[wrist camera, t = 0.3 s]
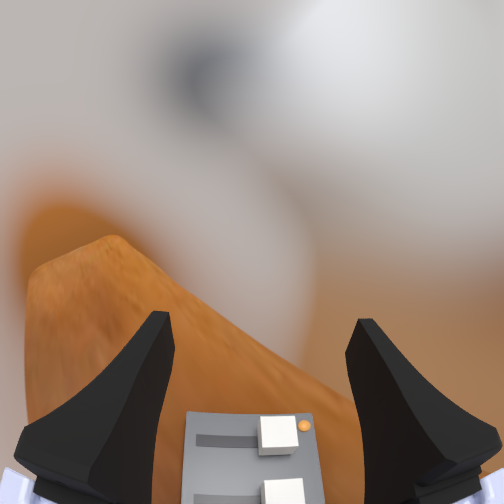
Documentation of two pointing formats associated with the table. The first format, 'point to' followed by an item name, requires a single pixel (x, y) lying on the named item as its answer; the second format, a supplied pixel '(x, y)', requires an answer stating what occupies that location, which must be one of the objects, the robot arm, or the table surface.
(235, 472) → the switch panel
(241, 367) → the table surface
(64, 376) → the table surface
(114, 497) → the robot arm
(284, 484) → the switch middle
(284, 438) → the switch
